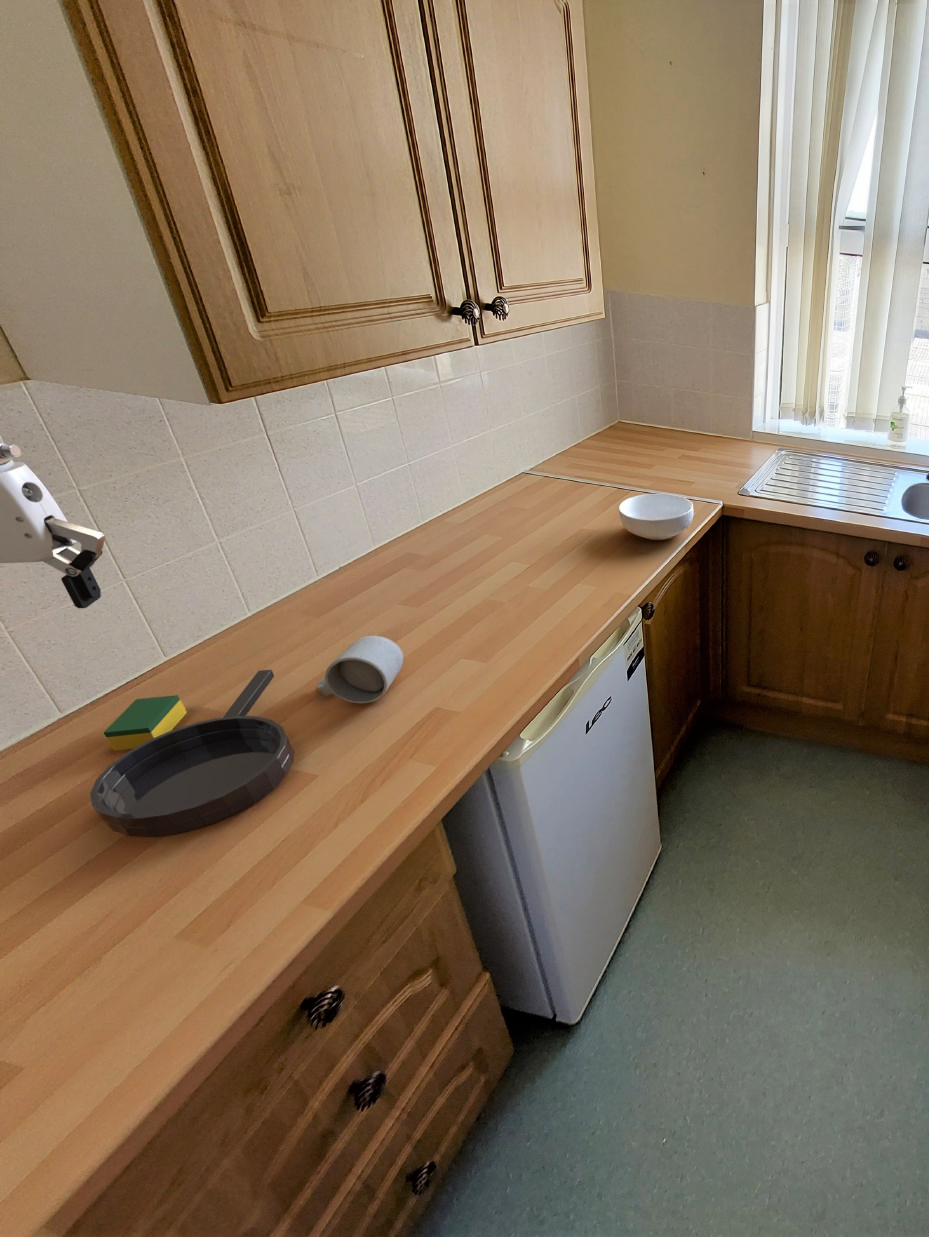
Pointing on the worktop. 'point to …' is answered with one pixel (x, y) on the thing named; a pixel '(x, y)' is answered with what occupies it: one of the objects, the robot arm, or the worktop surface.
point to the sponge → (145, 721)
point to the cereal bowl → (656, 515)
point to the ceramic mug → (363, 670)
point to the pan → (193, 776)
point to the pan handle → (250, 694)
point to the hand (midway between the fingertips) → (34, 605)
